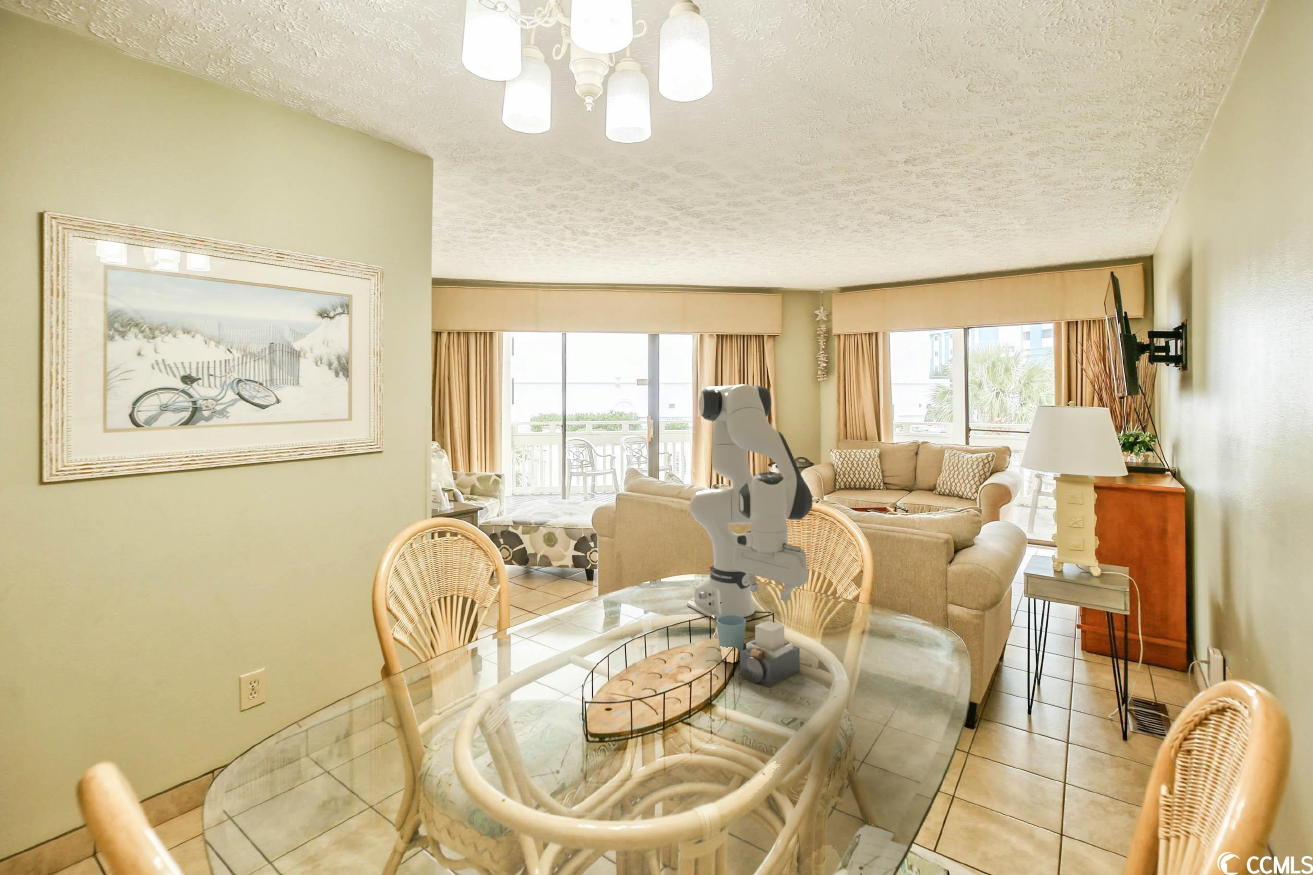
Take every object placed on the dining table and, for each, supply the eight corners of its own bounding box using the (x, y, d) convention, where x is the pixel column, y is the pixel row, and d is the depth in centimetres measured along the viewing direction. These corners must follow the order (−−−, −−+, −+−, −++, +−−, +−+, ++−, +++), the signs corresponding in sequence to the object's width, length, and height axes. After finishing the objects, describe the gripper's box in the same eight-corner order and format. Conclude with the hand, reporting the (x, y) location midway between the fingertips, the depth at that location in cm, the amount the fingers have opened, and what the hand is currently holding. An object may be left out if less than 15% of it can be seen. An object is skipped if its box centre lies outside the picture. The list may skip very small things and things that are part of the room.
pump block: (755, 649, 152) (755, 625, 151) (771, 641, 156) (771, 618, 156) (771, 655, 148) (771, 631, 148) (787, 647, 152) (787, 624, 152)
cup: (736, 668, 155) (736, 627, 154) (711, 660, 160) (710, 621, 159) (751, 657, 161) (751, 618, 160) (726, 650, 166) (726, 612, 165)
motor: (737, 676, 151) (737, 646, 150) (772, 658, 160) (772, 630, 159) (767, 688, 144) (767, 657, 143) (801, 669, 153) (801, 640, 153)
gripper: (813, 545, 144) (813, 602, 145) (745, 531, 159) (745, 583, 160) (797, 550, 140) (797, 609, 141) (729, 535, 155) (729, 588, 156)
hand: (769, 595), depth 151 cm, fingers open, 8 cm apart
